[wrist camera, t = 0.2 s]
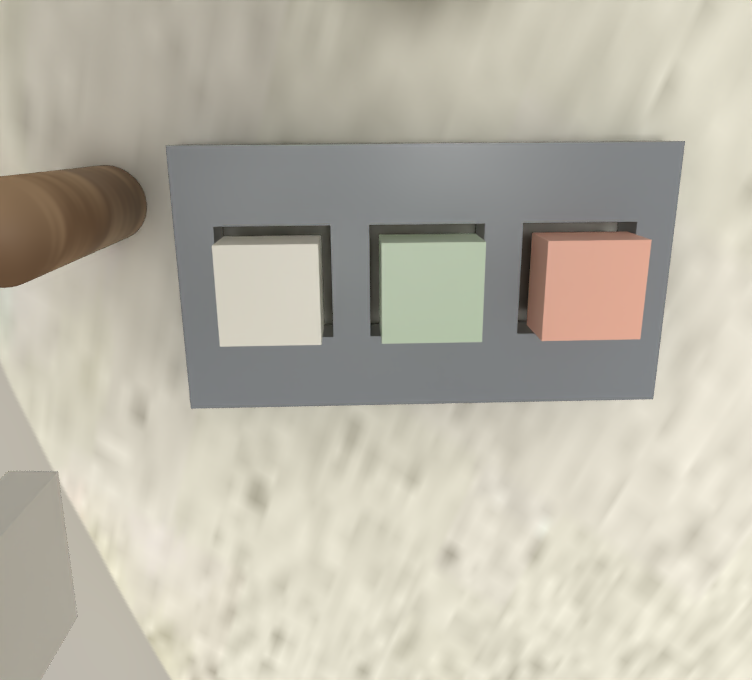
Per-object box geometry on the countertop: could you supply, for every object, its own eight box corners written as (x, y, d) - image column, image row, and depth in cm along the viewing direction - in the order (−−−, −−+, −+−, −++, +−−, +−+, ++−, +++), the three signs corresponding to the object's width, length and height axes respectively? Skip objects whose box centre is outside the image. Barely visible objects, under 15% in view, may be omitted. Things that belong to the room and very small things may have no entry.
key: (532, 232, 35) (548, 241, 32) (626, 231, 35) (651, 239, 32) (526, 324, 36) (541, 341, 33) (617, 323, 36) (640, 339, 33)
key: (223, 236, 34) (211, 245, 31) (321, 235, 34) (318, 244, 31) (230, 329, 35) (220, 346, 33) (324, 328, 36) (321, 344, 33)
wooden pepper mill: (66, 165, 35) (-73, 179, 24) (142, 164, 35) (41, 177, 24) (76, 240, 36) (-51, 288, 25) (150, 239, 36) (57, 286, 25)
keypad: (178, 145, 35) (165, 145, 33) (662, 141, 36) (684, 141, 33) (200, 391, 39) (190, 408, 37) (635, 383, 40) (652, 399, 38)
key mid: (378, 234, 34) (381, 243, 31) (474, 233, 34) (486, 241, 32) (379, 327, 36) (382, 343, 33) (471, 325, 36) (482, 342, 33)
